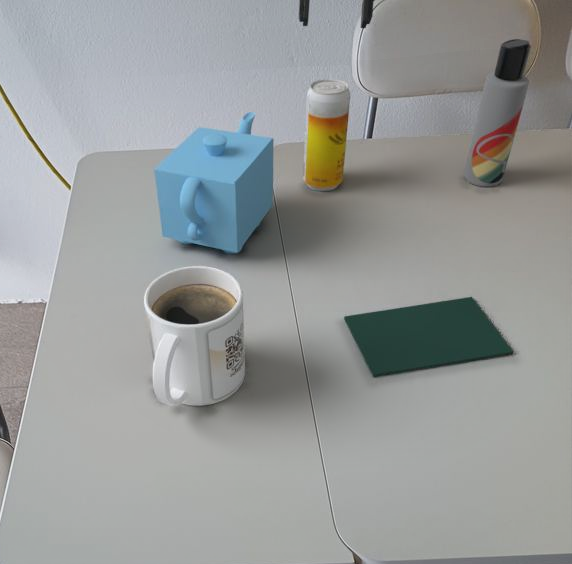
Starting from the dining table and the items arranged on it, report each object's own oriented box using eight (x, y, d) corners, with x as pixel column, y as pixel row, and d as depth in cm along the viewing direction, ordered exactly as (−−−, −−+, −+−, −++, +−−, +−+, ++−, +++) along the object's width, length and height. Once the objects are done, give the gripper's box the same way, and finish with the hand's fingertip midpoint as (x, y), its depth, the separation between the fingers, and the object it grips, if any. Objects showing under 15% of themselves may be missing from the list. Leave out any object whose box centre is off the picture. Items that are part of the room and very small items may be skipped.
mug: (265, 387, 69) (265, 307, 61) (165, 433, 65) (152, 353, 57) (217, 332, 76) (212, 254, 68) (123, 371, 72) (107, 292, 64)
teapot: (229, 275, 84) (225, 178, 75) (154, 257, 88) (141, 163, 78) (287, 194, 99) (289, 105, 89) (220, 182, 102) (216, 95, 93)
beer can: (345, 191, 98) (354, 93, 88) (305, 193, 98) (309, 95, 88) (339, 172, 103) (347, 76, 93) (301, 174, 103) (305, 78, 93)
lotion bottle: (496, 190, 96) (534, 50, 83) (458, 182, 99) (489, 44, 85) (506, 174, 100) (544, 37, 86) (469, 166, 102) (500, 32, 89)
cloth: (471, 299, 78) (471, 296, 78) (512, 354, 71) (513, 351, 71) (344, 318, 77) (344, 316, 76) (373, 377, 69) (373, 374, 69)
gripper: (294, -106, 91) (287, 10, 91) (396, -104, 90) (388, 13, 91) (291, -73, 98) (285, 35, 99) (386, -70, 98) (379, 38, 98)
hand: (334, 24), depth 95 cm, fingers open, 8 cm apart
